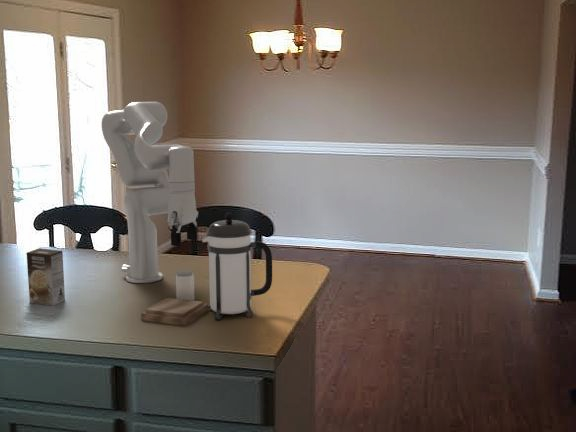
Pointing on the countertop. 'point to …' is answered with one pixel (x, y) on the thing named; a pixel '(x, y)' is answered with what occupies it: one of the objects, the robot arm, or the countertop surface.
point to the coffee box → (45, 276)
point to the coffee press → (233, 267)
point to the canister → (185, 285)
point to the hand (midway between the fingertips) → (184, 242)
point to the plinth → (174, 311)
